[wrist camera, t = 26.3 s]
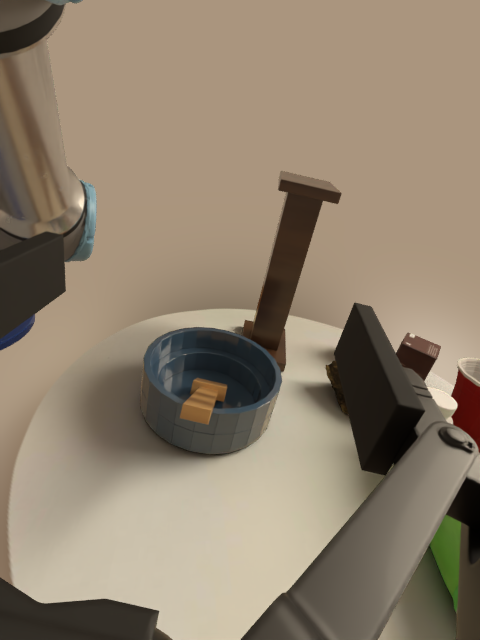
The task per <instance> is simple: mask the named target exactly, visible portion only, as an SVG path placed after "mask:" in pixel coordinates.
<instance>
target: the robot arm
mask: <svg viewBox="0 0 480 640" xmlns="http://www.w3.org/2000/svg"><path fill="white" fill-rule="evenodd" d="M81 1H82V0H0V339H1V338H3V337H4V336H5V335H7V334H8V333H9V332H11V331H12V330H14V329H15V328H16V327H18V326H19V325H20V324H22V323H23V322H24V321H26V320H27V319H29V318H30V317H31V316H33V315H34V314H35V313H37V312H38V311H39V310H41V309H42V308H43V307H45V306H46V305H47V304H49V303H50V302H51V301H53V300H54V299H56V298H57V297H58V296H60V295H61V294H62V293H64V292H65V291H66V289H65V264H64V261H65V262H70V261H84V260H86V259H88V258H89V257H90V255H91V253H92V249H93V244H94V234H95V228H96V193H95V189H94V187H93V185H91V184H89V183H85V182H84V181H82V180H79V179H78V178H77V176H76V175H75V173H74V172H73V171H72V170H71V169H70V168H69V167H68V166H67V163H66V157H65V151H64V144H63V138H62V132H61V125H60V119H59V113H58V107H57V100H56V95H55V88H54V82H53V75H52V69H51V63H50V57H49V50H48V44H47V39H48V38H49V37H50V35H52V33H53V32H54V31H55V30H56V28H57V26H58V25H59V24H60V22H61V19H62V17H63V14H64V10H65V4H66V3H68V2H72V3H79V2H81ZM334 355H335V360H336V364H337V368H338V372H339V376H340V381H341V385H342V389H343V393H344V397H345V402H346V406H347V410H348V414H349V418H350V423H351V427H352V431H353V435H354V439H355V444H356V448H357V452H358V456H359V460H360V465H361V469H362V470H364V471H368V472H373V473H377V474H381V475H386V474H387V472H388V471H389V469H390V468H391V466H392V464H393V463H394V465H395V466H394V467H393V468H392V469H391V470H390V471H389V473H388V474H387V475H386V476H385V477H384V479H383V480H382V481H381V482H380V483H379V484H378V486H377V487H376V488H375V489H374V490H373V492H372V493H371V494H370V495H369V496H368V497H367V499H366V500H365V501H364V502H363V503H362V504H361V506H360V507H359V508H358V509H357V510H356V512H355V513H354V514H353V515H352V516H351V517H350V519H349V520H348V521H347V522H346V523H345V525H344V526H343V527H342V528H341V529H340V530H339V532H338V533H337V534H336V535H335V536H334V537H333V539H332V540H331V541H330V542H329V543H328V545H327V546H326V547H325V548H324V549H323V550H322V552H321V553H320V554H319V555H318V556H317V558H316V559H315V560H314V561H313V562H312V563H311V565H310V566H309V567H308V568H307V569H306V571H305V572H304V573H303V574H302V575H301V576H300V578H299V579H298V580H297V581H296V582H295V583H294V585H293V586H292V587H291V588H290V589H289V590H288V591H287V592H286V593H282V594H281V595H280V596H279V597H278V598H277V599H276V600H275V601H274V602H273V603H272V604H271V605H270V606H269V607H268V608H267V610H266V611H265V612H264V613H263V614H262V615H261V617H260V618H259V619H258V620H257V621H256V622H255V624H254V625H253V626H252V627H251V628H250V629H249V631H248V632H247V633H246V634H245V635H244V636H243V637H242V639H241V640H378V638H379V636H380V634H381V633H382V631H383V629H384V627H385V625H386V623H387V622H388V620H389V618H390V616H391V614H392V612H393V611H394V609H395V607H396V605H397V603H398V601H399V600H400V598H401V596H402V594H403V592H404V590H405V588H406V587H407V585H408V583H409V581H410V579H411V577H412V576H413V574H414V572H415V570H416V568H417V566H418V565H419V563H420V561H421V559H422V557H423V555H424V554H425V552H426V550H427V548H428V546H429V544H430V543H431V541H432V539H433V537H434V535H435V533H436V531H437V530H438V528H439V526H440V524H441V522H442V520H443V519H444V517H445V515H447V516H449V517H451V518H453V519H455V520H457V521H459V522H461V535H460V558H459V581H458V604H457V626H456V640H480V453H479V448H478V446H477V444H476V442H475V441H474V440H473V439H472V438H471V437H470V436H469V435H468V434H467V433H466V432H464V431H463V430H462V429H460V428H459V427H457V426H455V425H453V424H451V423H447V421H446V419H445V417H444V416H443V414H442V412H441V410H440V409H439V407H438V405H437V403H436V402H435V400H434V399H432V398H433V396H432V395H431V393H430V391H428V388H427V386H426V384H425V383H424V381H423V379H422V378H421V377H420V376H419V375H418V374H417V373H416V372H415V371H414V370H413V369H409V368H405V367H402V365H401V363H400V361H399V359H398V357H397V355H396V353H395V351H394V349H393V347H392V345H391V343H390V341H389V340H388V338H387V336H386V334H385V332H384V330H383V328H382V326H381V324H380V322H379V320H378V318H377V316H376V314H375V313H374V311H373V309H372V307H371V306H366V305H362V304H358V303H354V305H353V308H352V310H351V313H350V315H349V318H348V320H347V323H346V325H345V328H344V330H343V332H342V335H341V337H340V340H339V342H338V345H337V347H336V350H335V352H334ZM158 614H159V611H157V610H153V609H149V608H144V607H140V606H135V605H131V604H126V603H122V602H118V601H113V600H109V599H97V600H85V601H72V602H60V603H48V604H44V603H39V602H37V601H35V600H34V599H32V598H31V597H29V596H28V595H26V594H24V593H23V592H21V591H20V590H18V589H17V588H15V587H14V586H12V585H11V584H9V583H8V582H6V581H5V580H3V579H2V578H0V640H172V639H171V638H170V637H169V636H168V635H166V634H165V633H163V632H162V631H160V630H159V629H157V628H156V624H157V619H158Z"/></svg>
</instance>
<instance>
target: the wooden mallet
mask: <svg viewBox="0 0 480 640" xmlns="http://www.w3.org/2000/svg"><path fill="white" fill-rule="evenodd" d="M226 390H227V385H226V384H222V383H218V382H213V381H209V380H205V379H200V378H196V379H195V380H193V383H192V388H191V392H190V394H191V396H190V397H189V398H188V399H187V400H186V401H185V402H184V403H183V406H182V410H181V414H180V418H181V419H186V420H190V421H194V422H199V423H203V424H209V421H210V418H211V414H212V411H213V408H214V405H215V402H216V400H218V401H222V402H224V399H225V394H226Z"/></svg>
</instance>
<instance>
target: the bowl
mask: <svg viewBox="0 0 480 640" xmlns="http://www.w3.org/2000/svg"><path fill="white" fill-rule="evenodd" d="M196 378H200V379H205V380H209V381H213V382H218V383H222V384H226V385H227V390H226V394H225V399H224V402H222V401H218V400H216V402H215V405H214V408H213V411H212V414H211V418H210V421H209V424H203V423H199V422H194V421H190V420H186V419H181V418H180V414H181V410H182V406H183V403H184V402H185V401H186V400H187V399H188V398H189V397H190V396H191V394H190V392H191V388H192V383H193V380H195V379H196ZM281 383H282V377H281V370H280V368H279V366H278V364H277V362H276V360H275V359H274V358H273V357H272V356H271V355H270V354H269V352H268V351H267V350H265V349H264V348H263V347H261V346H260V345H258V344H257V343H256V342H254V341H252V340H250V339H248V338H246V337H244V336H242V335H239V334H236V333H233V332H230V331H226V330H221V329H215V328H204V327H193V328H183V329H179V330H175V331H171V332H169V333H166V334H164V335H162V336H160V337H159V338H157V339H156V340H155V341H154V342H153V343H152V344H151V345H150V346H149V347H148V349H147V351H146V353H145V355H144V360H143V371H142V382H141V394H140V408H141V411H142V413H143V416H144V418H145V421H146V422H147V423H148V425H149V426H150V427H151V428H152V429H153V430H154V432H155V433H156V434H157V435H159V436H160V437H162V438H163V439H165V440H166V441H168V442H169V443H170V444H172V445H175V446H177V447H180V448H183V449H185V450H188V451H192V452H198V453H205V454H220V453H230V452H233V451H236V450H240V449H243V448H245V447H247V446H249V445H250V444H252V443H253V442H255V441H256V440H258V439H259V438H260V437H261V435H262V434H263V433H264V431H265V430H266V429H267V426H268V423H269V420H270V417H271V414H272V411H273V408H274V405H275V402H276V399H277V396H278V393H279V390H280V386H281Z"/></svg>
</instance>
